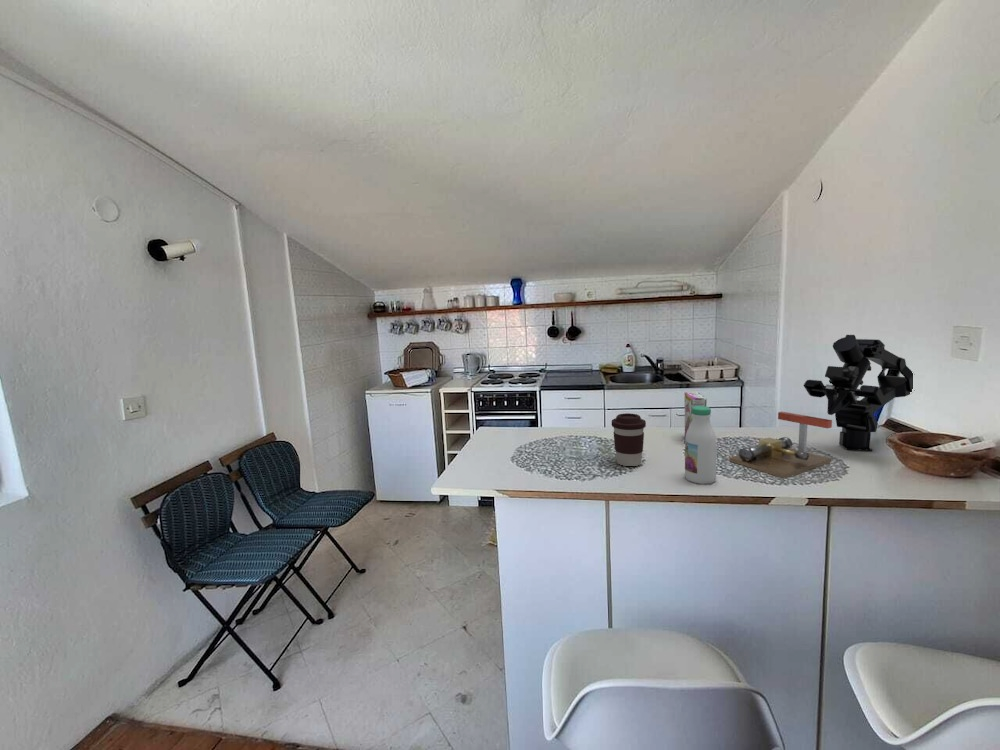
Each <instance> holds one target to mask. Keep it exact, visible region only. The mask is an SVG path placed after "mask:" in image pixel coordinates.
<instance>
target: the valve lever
mask: <svg viewBox="0 0 1000 750" xmlns="http://www.w3.org/2000/svg"><path fill="white" fill-rule="evenodd" d="M777 419H778V420H781V421H787V422H791V423H798V424H799V426H798V427H799V430H798V431H799V432H798V449H797V450H798V451H797V452H796V454H795V457H796V458H798V459H802V460H808V458H809V454H808V453H809V452H807V442H808V440H807V439H808V426H812V427H816V428H817V427H818V428H823V429H831V428H832V427H833V420H832V419H827V418H822V417H815V416H809V415H804V414H797V413H792V412H786V411H777ZM806 452H807V453H806Z"/></svg>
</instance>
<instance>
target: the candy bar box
mask: <svg viewBox="0 0 1000 750" xmlns="http://www.w3.org/2000/svg"><path fill="white" fill-rule="evenodd" d="M695 406H705V407H707V398H706V397H705V396H704V395H703V394H702V393H700V392H699V391H691V392H689V391H687V392H684V437H685V438H686V433H687V430H688V428H689V426H690V424H691V422H692V418H693V416H692V407H695Z"/></svg>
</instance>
